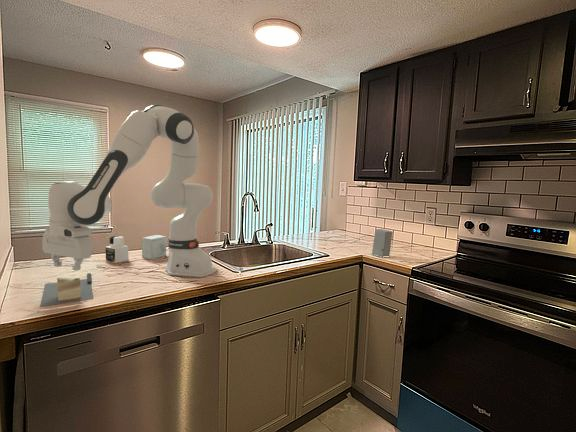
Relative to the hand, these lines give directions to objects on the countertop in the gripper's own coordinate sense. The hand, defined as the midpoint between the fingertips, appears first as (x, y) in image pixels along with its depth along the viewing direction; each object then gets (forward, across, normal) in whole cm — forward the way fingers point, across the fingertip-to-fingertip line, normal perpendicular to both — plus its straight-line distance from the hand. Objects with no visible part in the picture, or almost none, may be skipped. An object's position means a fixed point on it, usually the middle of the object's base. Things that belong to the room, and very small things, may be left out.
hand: (67, 268), depth 108 cm
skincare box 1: (+9, -12, +52) cm, 54 cm away
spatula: (+9, -12, +17) cm, 23 cm away
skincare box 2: (+9, +97, +119) cm, 153 cm away
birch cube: (+2, +5, -3) cm, 7 cm away
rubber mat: (+9, 0, 0) cm, 9 cm away
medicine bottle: (+9, -20, +37) cm, 43 cm away
